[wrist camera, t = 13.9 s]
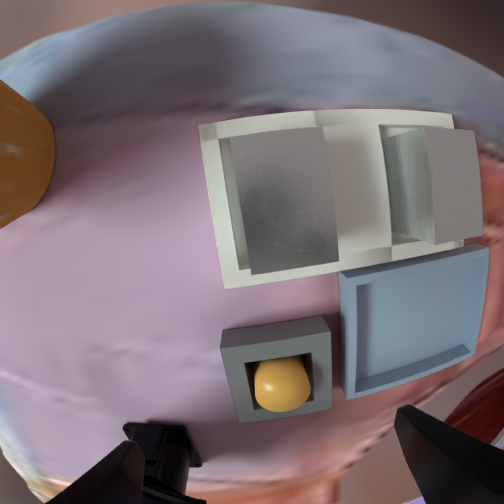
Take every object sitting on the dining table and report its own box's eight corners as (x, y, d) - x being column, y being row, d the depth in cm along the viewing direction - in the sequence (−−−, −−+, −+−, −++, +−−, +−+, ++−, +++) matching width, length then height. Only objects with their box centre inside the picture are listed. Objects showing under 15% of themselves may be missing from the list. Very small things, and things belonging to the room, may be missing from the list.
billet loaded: (314, 241, 18) (339, 261, 13) (249, 251, 18) (251, 275, 13) (301, 143, 16) (322, 127, 11) (234, 152, 16) (229, 137, 11)
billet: (436, 223, 17) (482, 235, 13) (391, 230, 18) (434, 245, 13) (428, 139, 16) (473, 130, 11) (381, 139, 16) (423, 126, 11)
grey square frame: (324, 389, 21) (331, 408, 19) (239, 402, 21) (239, 423, 19) (321, 314, 20) (330, 331, 17) (222, 330, 20) (219, 348, 17)
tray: (463, 346, 21) (474, 355, 19) (340, 386, 21) (347, 400, 19) (475, 242, 19) (489, 247, 17) (337, 269, 19) (346, 278, 17)
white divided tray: (446, 244, 19) (463, 249, 17) (227, 281, 19) (225, 293, 17) (434, 115, 17) (450, 110, 15) (202, 128, 17) (197, 121, 15)
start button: (304, 381, 20) (311, 407, 17) (257, 389, 20) (259, 415, 17) (301, 343, 20) (309, 367, 17) (250, 351, 20) (251, 376, 17)
